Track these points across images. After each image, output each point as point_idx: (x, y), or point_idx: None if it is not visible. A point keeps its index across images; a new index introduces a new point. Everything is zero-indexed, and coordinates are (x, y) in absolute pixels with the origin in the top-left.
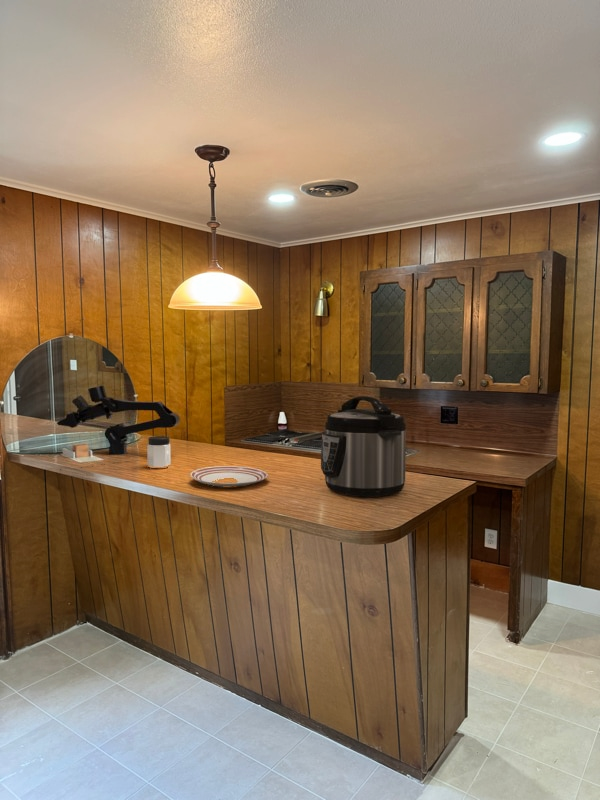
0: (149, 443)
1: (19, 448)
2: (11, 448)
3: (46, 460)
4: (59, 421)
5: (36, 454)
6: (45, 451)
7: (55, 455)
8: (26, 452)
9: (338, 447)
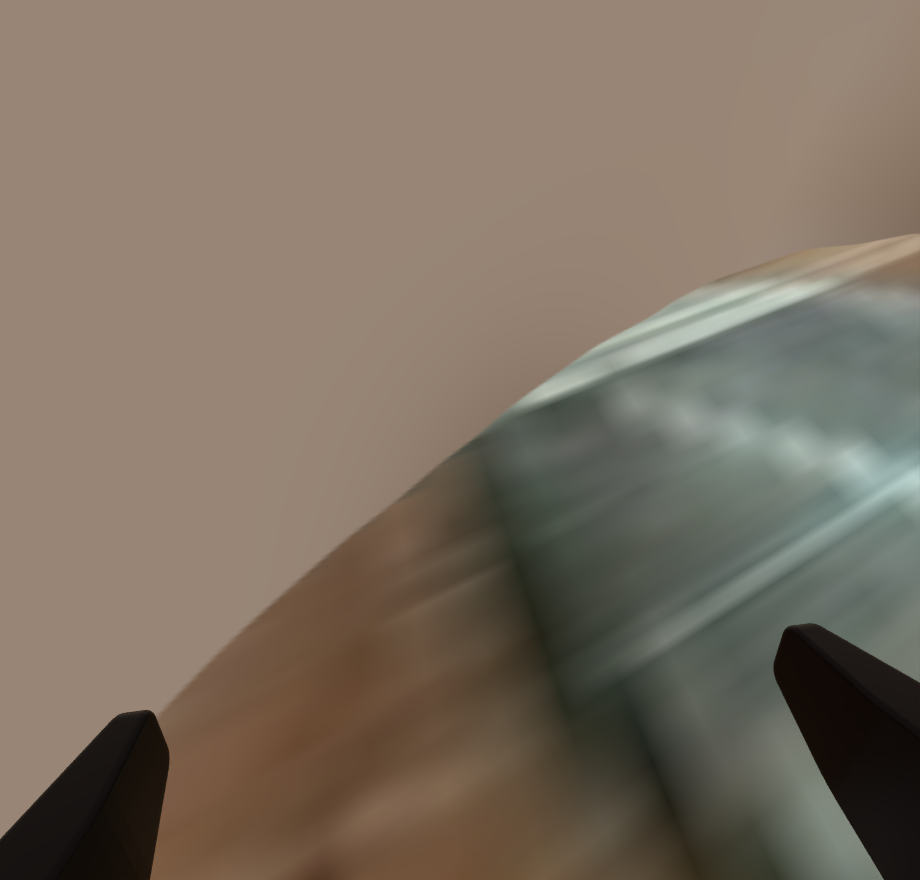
0: None
1: (644, 360)
2: (623, 331)
3: None
4: (18, 825)
5: (455, 551)
6: (616, 549)
7: (437, 766)
8: (523, 448)
9: None
